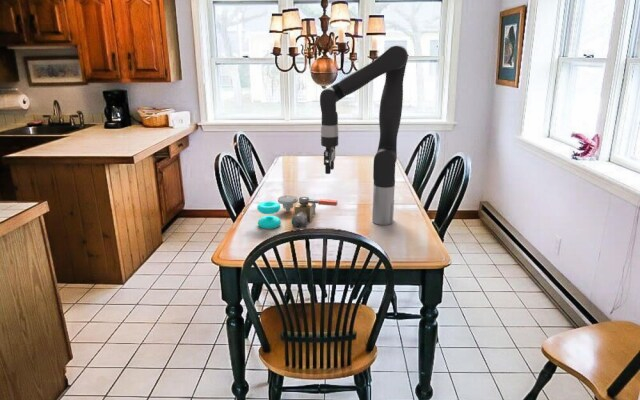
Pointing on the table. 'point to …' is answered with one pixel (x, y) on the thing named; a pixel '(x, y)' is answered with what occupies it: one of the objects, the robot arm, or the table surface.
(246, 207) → the table surface
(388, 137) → the robot arm
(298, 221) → the valve body
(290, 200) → the showerhead
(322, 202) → the lever
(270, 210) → the donuts
